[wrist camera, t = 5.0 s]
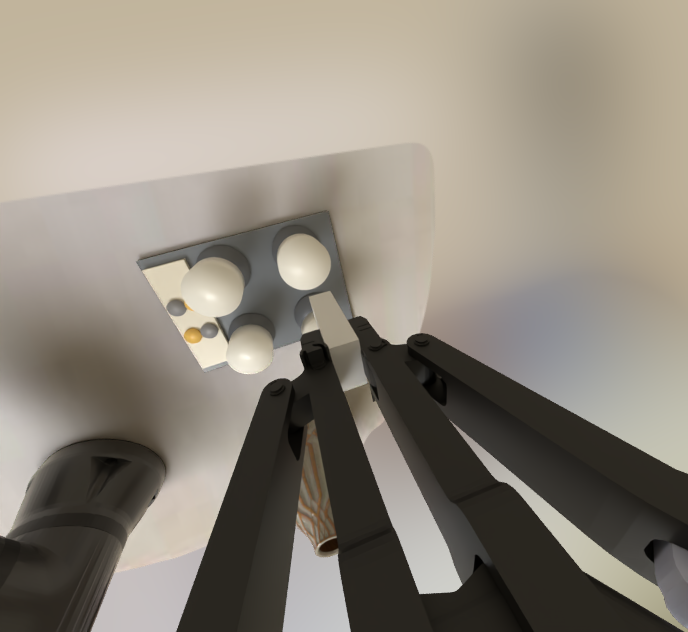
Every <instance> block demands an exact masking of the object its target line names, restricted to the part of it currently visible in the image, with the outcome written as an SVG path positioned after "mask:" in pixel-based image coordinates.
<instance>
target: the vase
mask: <svg viewBox="0 0 688 632" xmlns="http://www.w3.org/2000/svg"><path fill="white" fill-rule="evenodd" d="M307 425H308V430H307V438H306V446H305V454H304V462H303V470H302V478H301V486H300V494H299V502H298V510H297V518H296V526H297V527H298V529H300V530H301V531H302V532H303V533H304V534H305V535H306V536H307V537H308V538H309V540H310V541H311V543H312V545H313V547H314V551H315V554H316V555H317V556H319V557H330V556H333V555H336V554H338V550H339V549H338V542H337V536H336V531H335V526H334V521H333V515H332V510H331V505H330V500H329V494H328V489H327V484H326V479H325V474H324V468H323V463H322V458H321V453H320V447H319V442H318V437H317V432H316V426H315V421H314V420H312V421H311V422H309V423H308V424H307Z"/></svg>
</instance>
